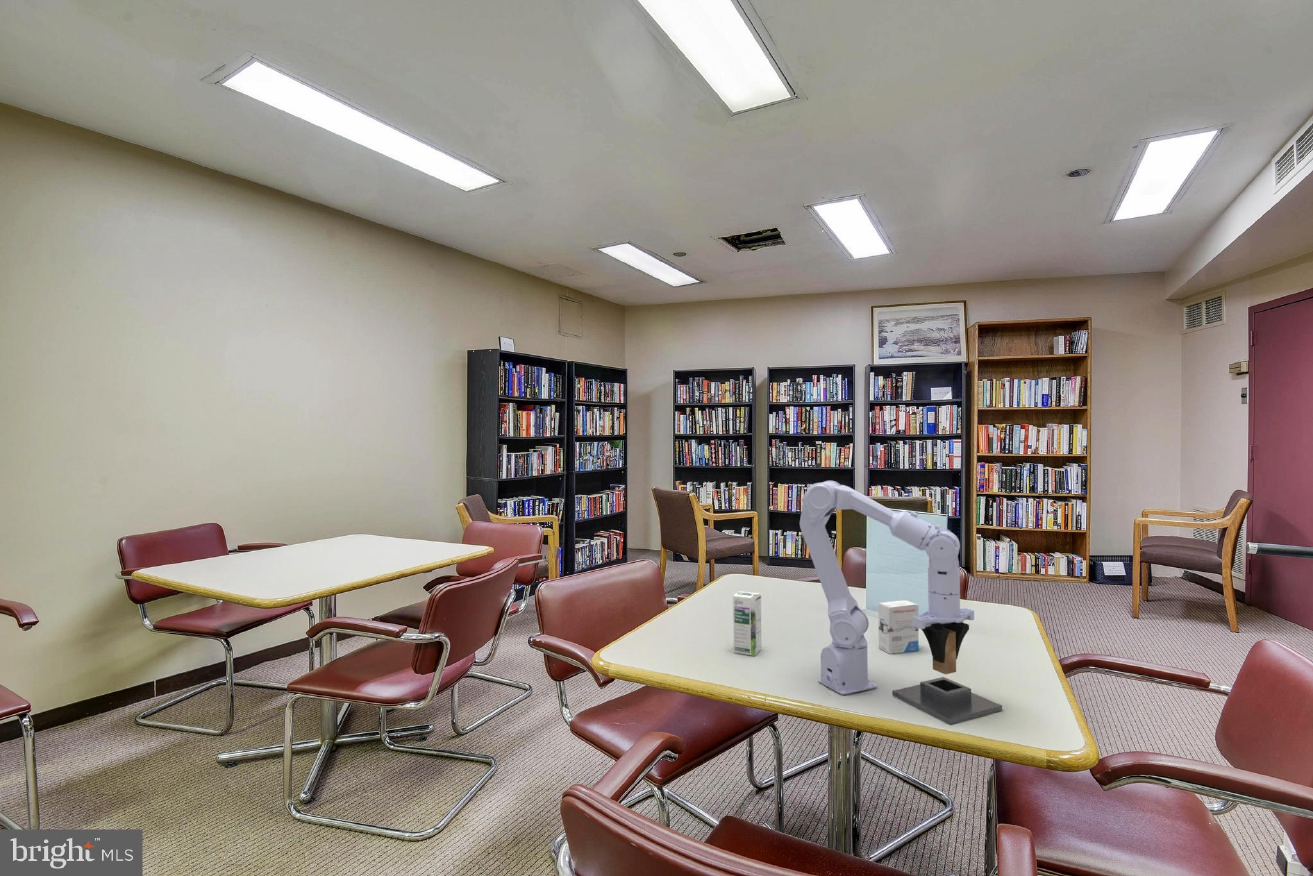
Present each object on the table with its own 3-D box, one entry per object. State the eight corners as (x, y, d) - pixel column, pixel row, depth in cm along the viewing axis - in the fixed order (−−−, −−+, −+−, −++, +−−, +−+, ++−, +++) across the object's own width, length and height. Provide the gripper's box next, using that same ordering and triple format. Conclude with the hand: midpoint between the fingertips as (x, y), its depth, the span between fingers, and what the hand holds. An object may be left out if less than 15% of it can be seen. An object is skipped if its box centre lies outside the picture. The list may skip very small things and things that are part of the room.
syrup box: (732, 653, 148) (732, 595, 149) (740, 646, 154) (740, 589, 154) (754, 656, 146) (754, 597, 146) (762, 649, 151) (761, 592, 151)
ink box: (906, 644, 153) (905, 599, 153) (920, 651, 148) (919, 604, 149) (877, 648, 151) (877, 601, 151) (890, 655, 146) (889, 607, 146)
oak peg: (945, 674, 117) (944, 633, 117) (932, 669, 120) (932, 629, 120) (956, 672, 118) (955, 631, 118) (943, 666, 121) (942, 627, 121)
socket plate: (949, 724, 110) (949, 705, 110) (892, 695, 123) (892, 678, 123) (1002, 710, 115) (1001, 692, 115) (941, 684, 128) (941, 667, 128)
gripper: (933, 600, 113) (934, 672, 113) (987, 592, 118) (988, 660, 118) (904, 592, 119) (905, 660, 119) (956, 584, 125) (957, 649, 125)
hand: (944, 659), depth 119 cm, fingers closed on oak peg, 3 cm apart
